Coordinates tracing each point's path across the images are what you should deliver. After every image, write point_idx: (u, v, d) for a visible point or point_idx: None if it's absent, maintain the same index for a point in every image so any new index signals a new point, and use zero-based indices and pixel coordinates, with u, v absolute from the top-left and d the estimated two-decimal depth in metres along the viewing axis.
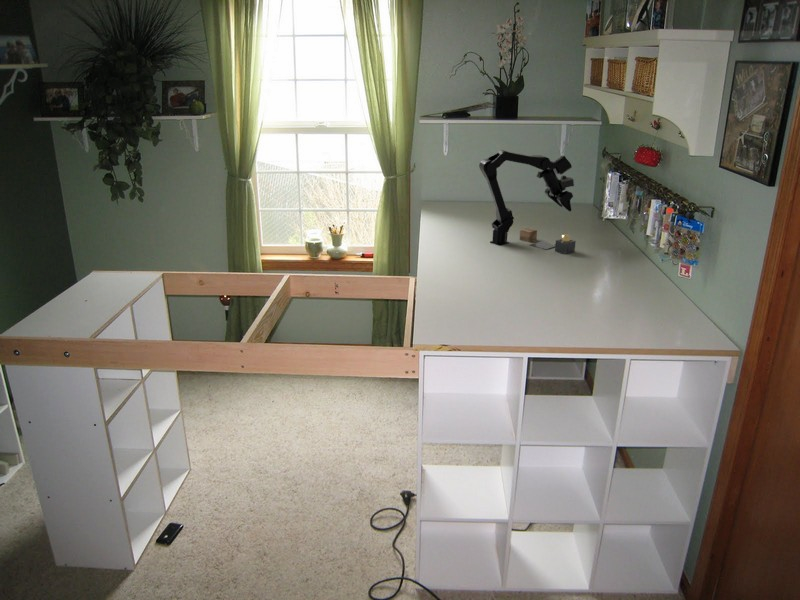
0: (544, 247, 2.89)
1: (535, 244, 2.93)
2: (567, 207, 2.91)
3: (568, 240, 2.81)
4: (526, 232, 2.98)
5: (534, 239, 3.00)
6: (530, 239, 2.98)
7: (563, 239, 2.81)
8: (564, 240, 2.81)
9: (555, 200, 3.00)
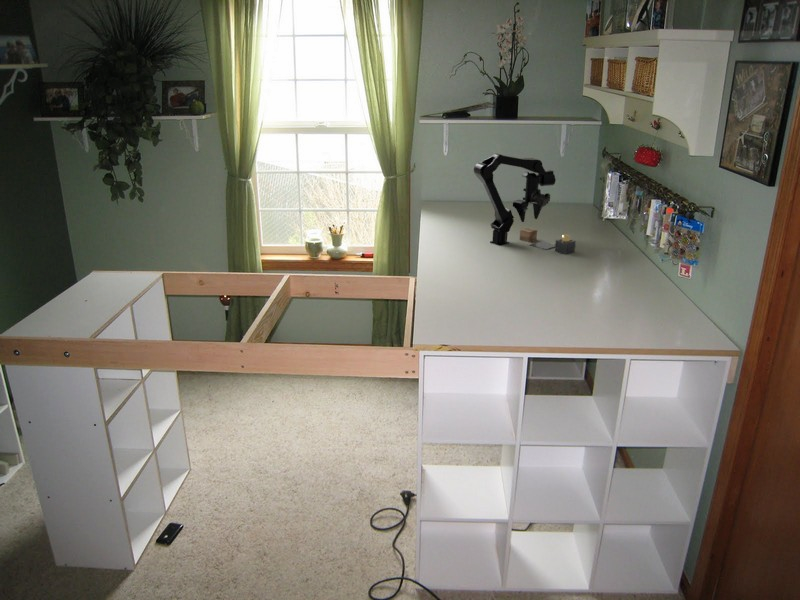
0: (544, 247, 2.89)
1: (535, 244, 2.93)
2: (520, 216, 2.95)
3: (568, 240, 2.81)
4: (526, 232, 2.98)
5: (534, 239, 3.00)
6: (530, 239, 2.98)
7: (563, 239, 2.81)
8: (564, 240, 2.81)
9: (534, 208, 3.01)
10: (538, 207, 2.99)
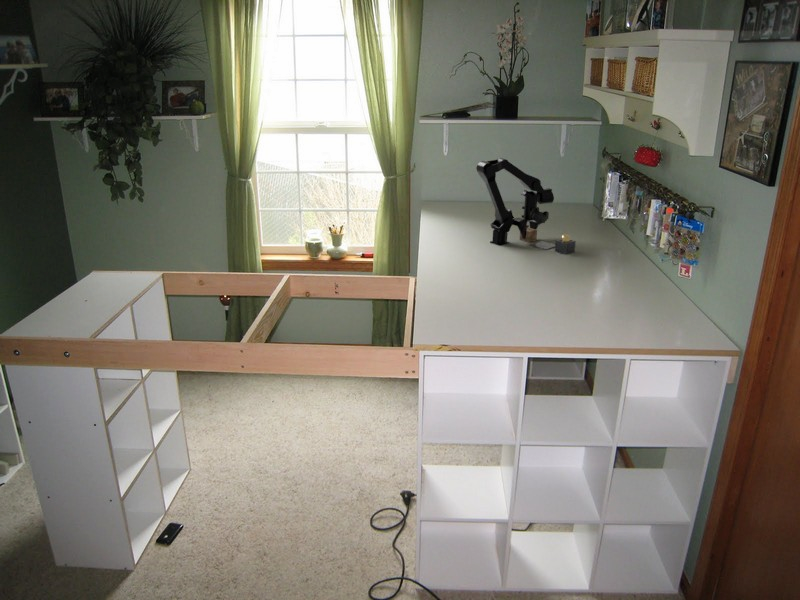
0: (544, 247, 2.89)
1: (535, 244, 2.93)
2: (521, 233, 2.99)
3: (568, 240, 2.81)
4: (526, 232, 2.98)
5: (534, 239, 3.00)
6: (530, 239, 2.98)
7: (563, 239, 2.81)
8: (564, 240, 2.81)
9: (530, 226, 3.03)
10: (534, 225, 3.01)
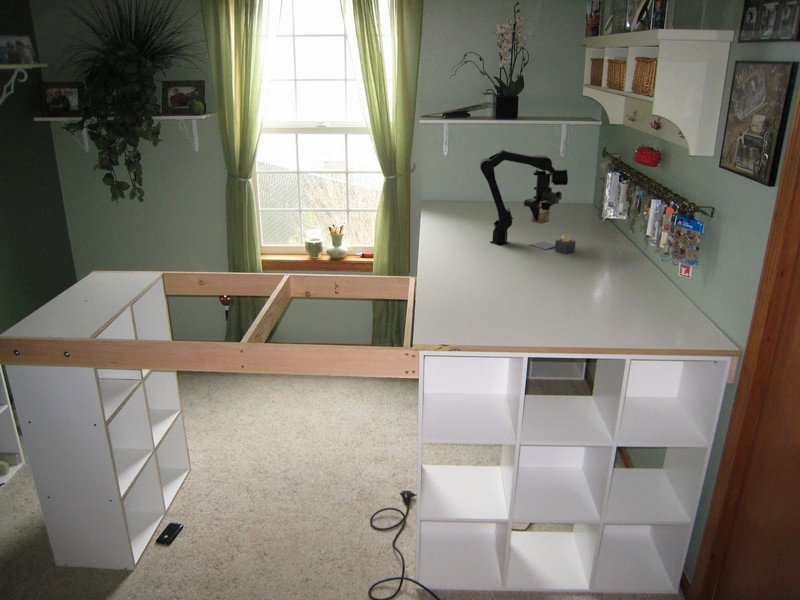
0: (544, 247, 2.89)
1: (535, 244, 2.93)
2: (534, 214, 2.89)
3: (568, 240, 2.81)
4: (539, 213, 2.89)
5: (547, 220, 2.91)
6: (543, 220, 2.89)
7: (563, 239, 2.81)
8: (564, 240, 2.81)
9: (542, 208, 2.94)
10: (547, 206, 2.92)
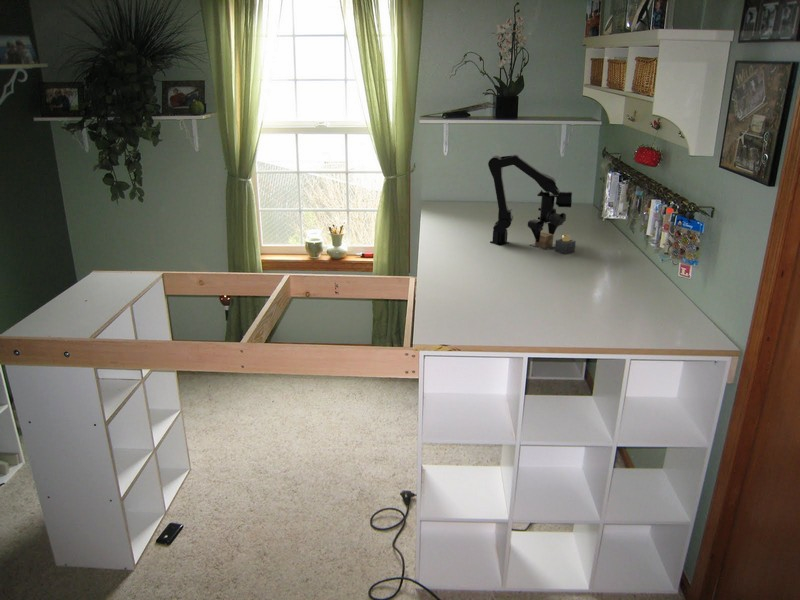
0: (544, 247, 2.89)
1: None
2: (535, 236, 2.88)
3: (568, 240, 2.81)
4: (542, 237, 2.88)
5: (550, 244, 2.91)
6: (546, 244, 2.89)
7: (563, 239, 2.81)
8: (564, 240, 2.81)
9: (549, 228, 2.94)
10: (553, 227, 2.92)
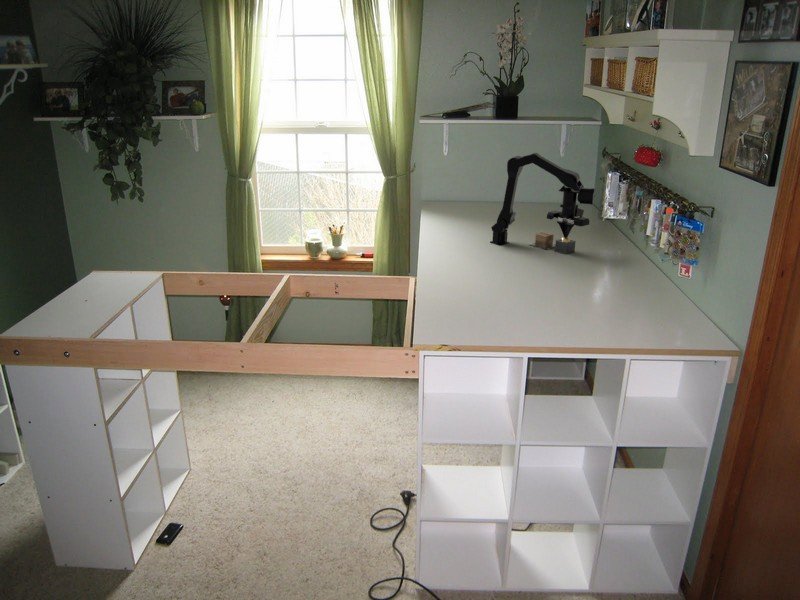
0: (544, 247, 2.89)
1: None
2: (567, 232, 2.80)
3: None
4: (542, 237, 2.88)
5: (550, 244, 2.91)
6: (546, 244, 2.89)
7: None
8: None
9: (563, 228, 2.80)
10: None
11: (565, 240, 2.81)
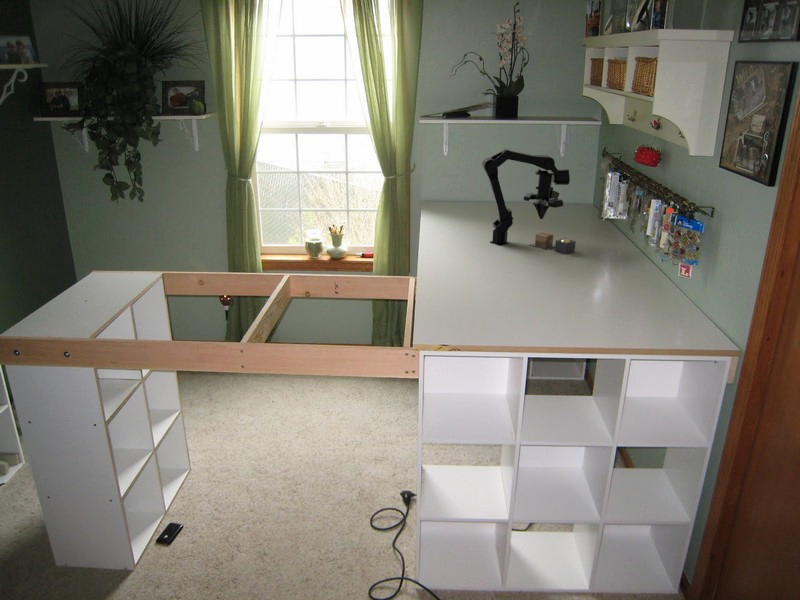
0: (544, 247, 2.89)
1: None
2: (542, 213, 2.91)
3: None
4: (542, 237, 2.88)
5: (550, 244, 2.91)
6: (546, 244, 2.89)
7: None
8: None
9: (538, 209, 2.92)
10: None
11: None
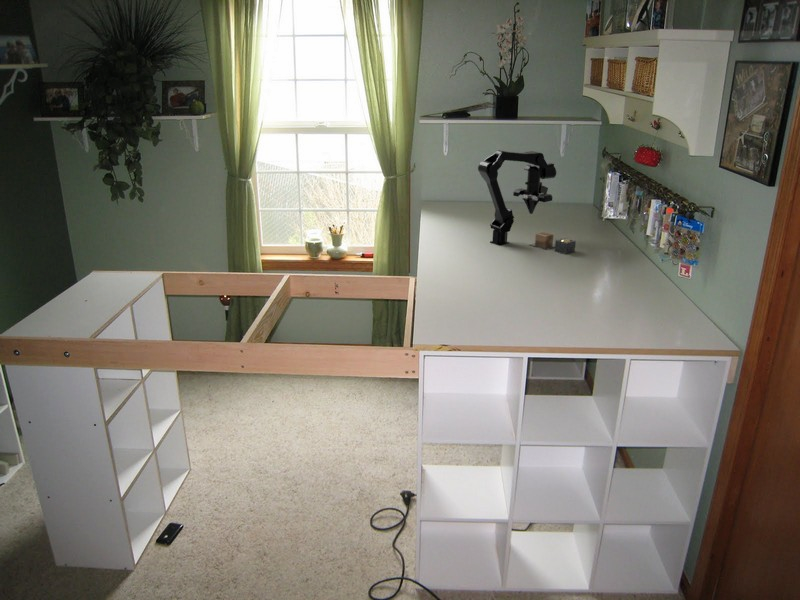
0: (544, 247, 2.89)
1: None
2: (532, 208, 2.97)
3: None
4: (542, 237, 2.88)
5: (550, 244, 2.91)
6: (546, 244, 2.89)
7: None
8: None
9: (528, 204, 2.97)
10: None
11: None
